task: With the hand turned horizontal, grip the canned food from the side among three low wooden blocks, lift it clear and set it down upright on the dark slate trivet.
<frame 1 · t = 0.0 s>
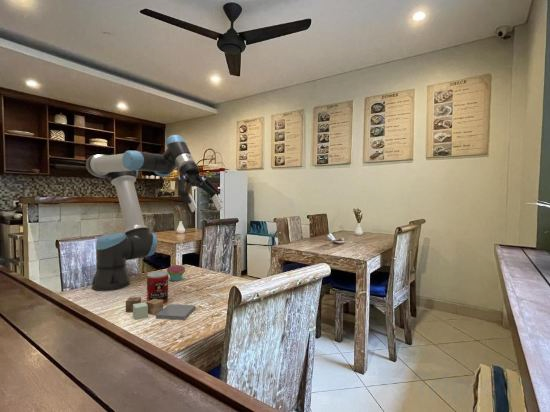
hand: (208, 209, 117), 36 cm above the table, tool tilted 35°, fingers open, 13 cm apart
teak block: (154, 312, 105), on the table
canned food: (157, 302, 116), on the table
cupcake: (175, 279, 146), on the table
sage painted block: (140, 316, 102), on the table
trivet: (176, 313, 104), on the table
walnut block: (133, 310, 107), on the table
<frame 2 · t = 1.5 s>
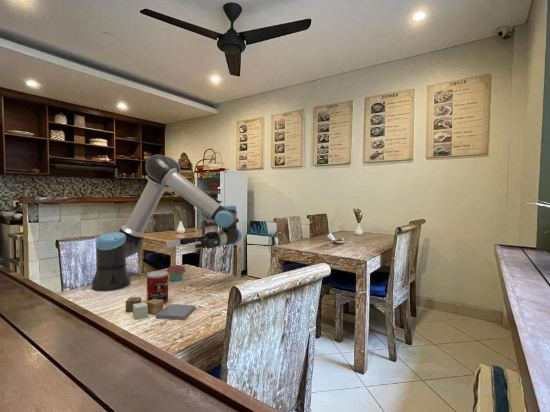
hand: (177, 245, 123), 21 cm above the table, tool horizontal, fingers open, 13 cm apart
nothing on the table moved.
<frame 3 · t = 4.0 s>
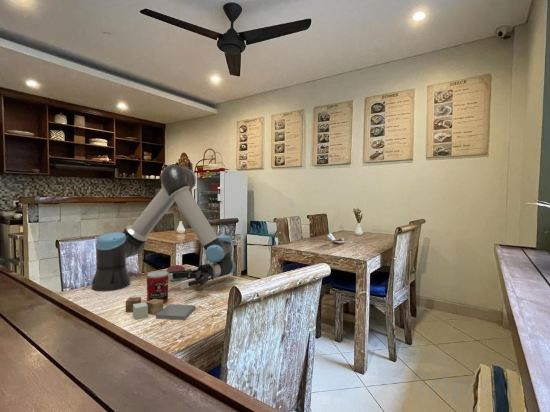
hand: (169, 282, 119), 6 cm above the table, tool horizontal, fingers open, 13 cm apart
nothing on the table moved.
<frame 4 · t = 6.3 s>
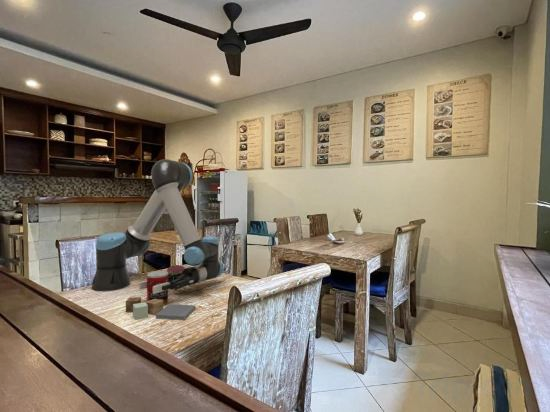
hand: (146, 288, 111), 7 cm above the table, tool horizontal, fingers closed on canned food, 8 cm apart
canned food: (157, 302, 116), on the table, touching gripper
everything else where it was.
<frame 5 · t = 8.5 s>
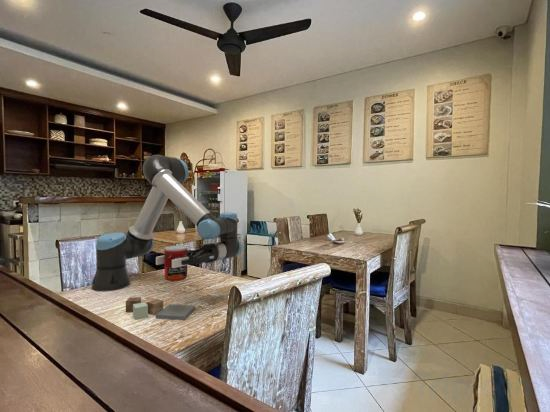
hand: (164, 262, 101), 18 cm above the table, tool horizontal, fingers closed on canned food, 8 cm apart
canned food: (176, 278, 106), point 12 cm above the table, touching gripper
everything else where it was.
when the fingers open (9 cm above the table, at t = 10.8 s): canned food drops 1 cm, resting on trivet.
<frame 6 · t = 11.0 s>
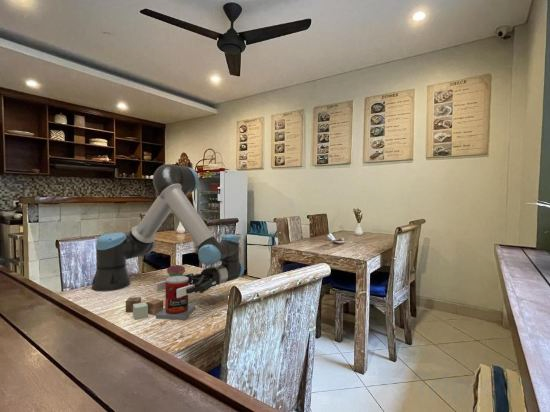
hand: (166, 290, 101), 9 cm above the table, tool horizontal, fingers open, 10 cm apart
canned food: (176, 310, 104), point 1 cm above the table, touching trivet
everything else where it was.
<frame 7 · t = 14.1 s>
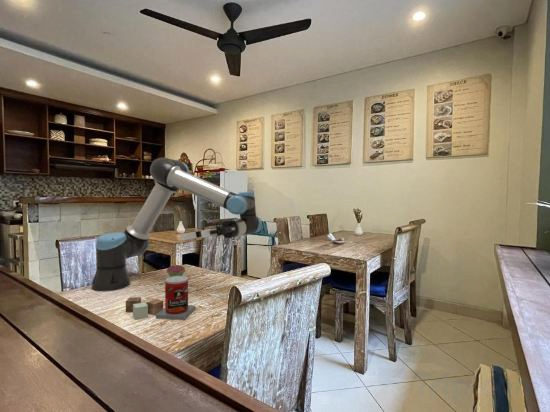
hand: (191, 235, 113), 26 cm above the table, tool horizontal, fingers open, 13 cm apart
nothing on the table moved.
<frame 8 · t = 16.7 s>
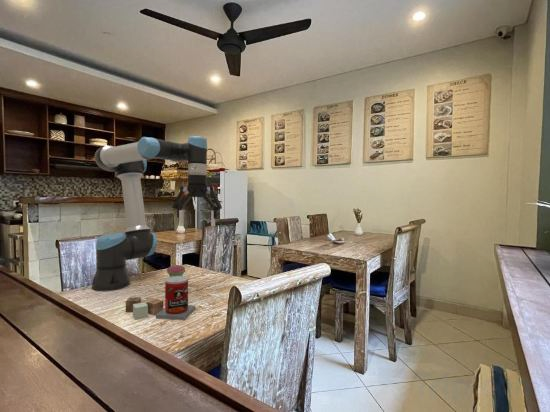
hand: (197, 226, 123), 29 cm above the table, tool pointing down, fingers open, 13 cm apart
nothing on the table moved.
at the end: canned food inside the target area on the trivet (0.1 cm from its centre), point 1.0 cm above the trivet's base; canned food tilted 0°; the gripper is holding nothing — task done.
